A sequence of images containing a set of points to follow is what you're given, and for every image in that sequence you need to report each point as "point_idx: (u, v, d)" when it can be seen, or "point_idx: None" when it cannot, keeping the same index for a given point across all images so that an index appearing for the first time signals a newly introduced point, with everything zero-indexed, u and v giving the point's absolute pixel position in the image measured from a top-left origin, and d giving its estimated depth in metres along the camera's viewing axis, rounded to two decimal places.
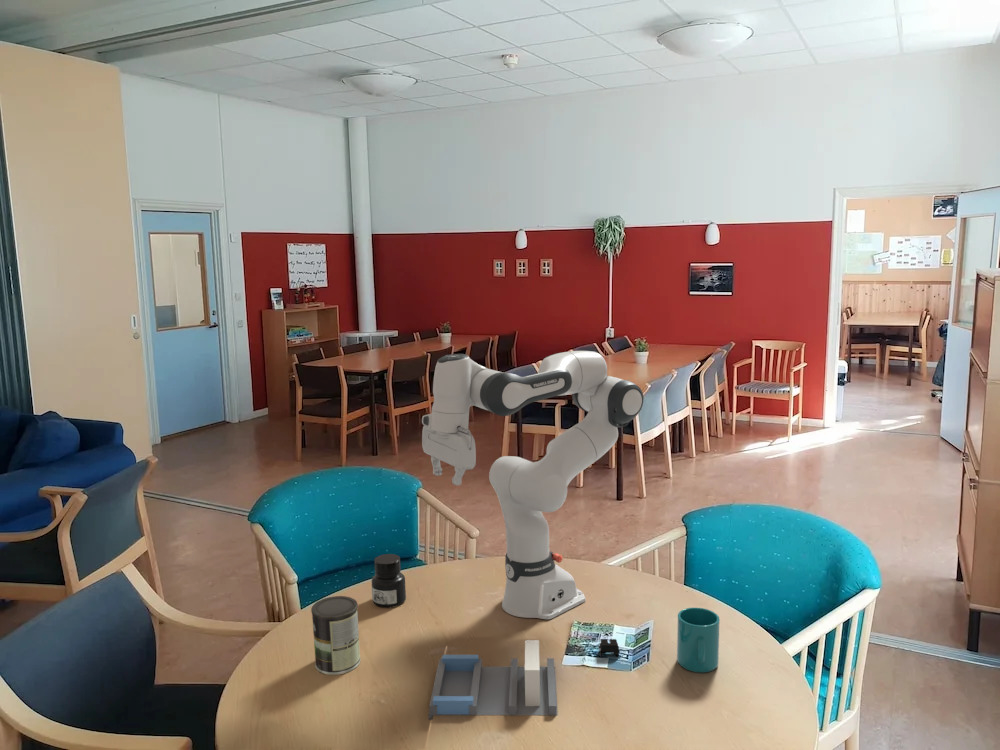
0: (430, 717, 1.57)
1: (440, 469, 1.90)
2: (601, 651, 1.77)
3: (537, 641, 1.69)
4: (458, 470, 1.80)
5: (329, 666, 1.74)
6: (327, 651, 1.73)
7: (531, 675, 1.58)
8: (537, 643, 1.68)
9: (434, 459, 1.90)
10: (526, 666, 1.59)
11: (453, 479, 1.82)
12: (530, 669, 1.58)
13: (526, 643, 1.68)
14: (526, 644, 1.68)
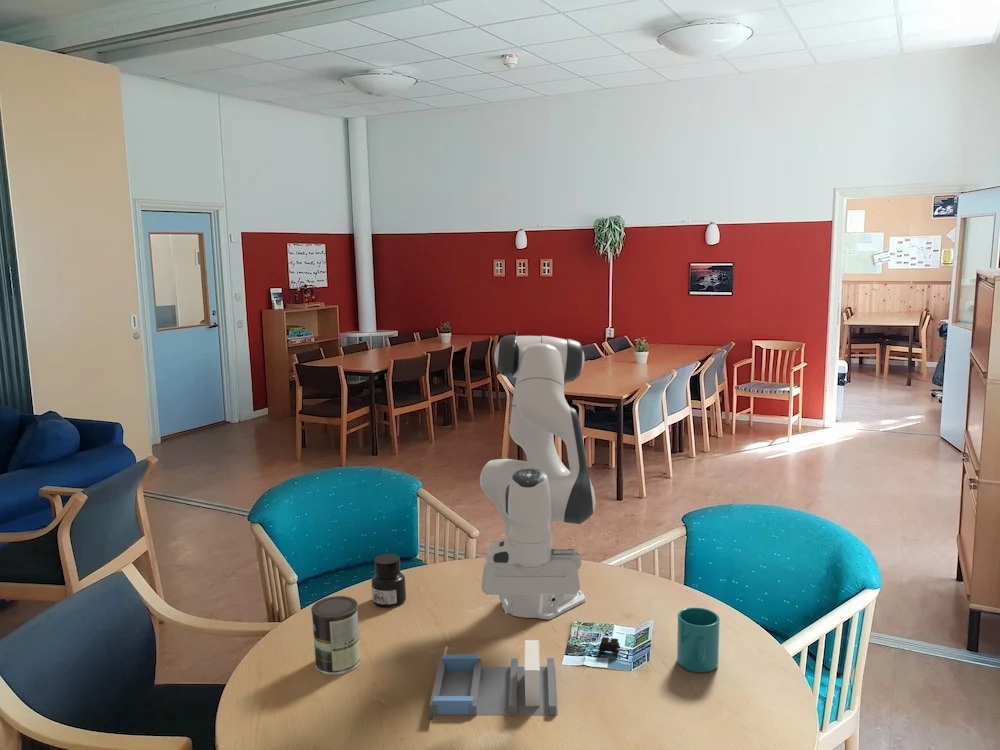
0: (430, 717, 1.57)
1: (511, 604, 1.62)
2: (600, 649, 1.78)
3: (537, 641, 1.69)
4: (562, 596, 1.60)
5: (329, 666, 1.74)
6: (327, 651, 1.73)
7: (531, 675, 1.58)
8: (537, 643, 1.68)
9: (505, 596, 1.61)
10: (526, 666, 1.59)
11: (553, 608, 1.61)
12: (530, 669, 1.58)
13: (526, 643, 1.68)
14: (526, 644, 1.68)
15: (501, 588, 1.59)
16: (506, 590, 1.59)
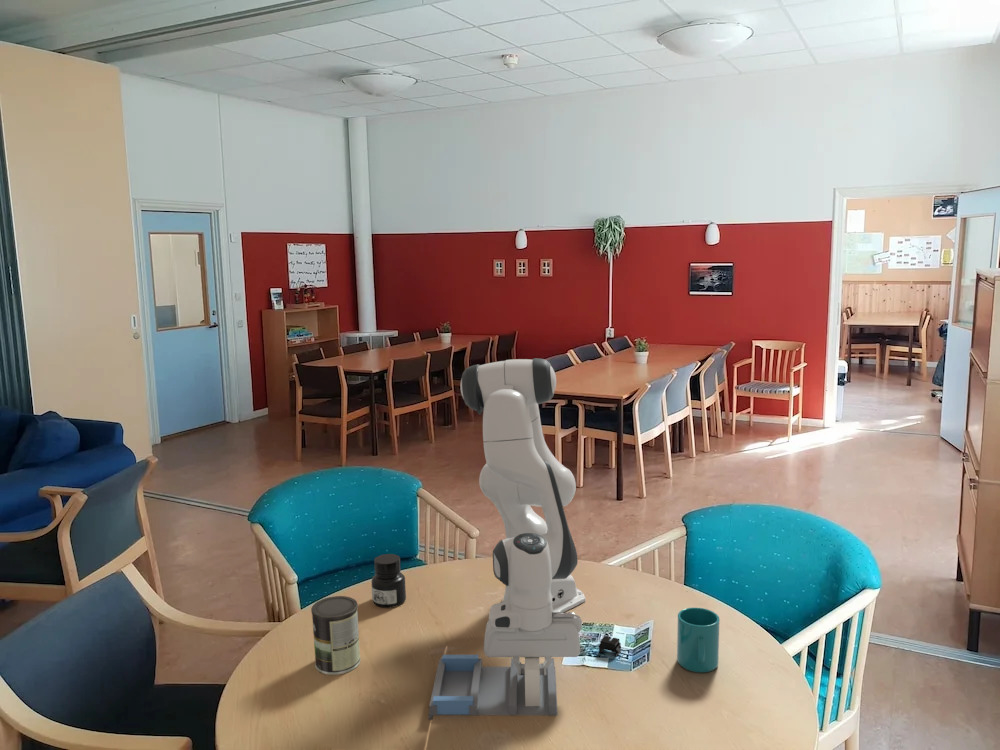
0: (430, 717, 1.57)
1: None
2: (600, 646, 1.79)
3: None
4: None
5: (329, 666, 1.74)
6: (327, 651, 1.73)
7: (531, 675, 1.58)
8: None
9: None
10: (526, 666, 1.59)
11: (542, 670, 1.63)
12: (530, 669, 1.58)
13: None
14: None
15: (503, 651, 1.62)
16: (508, 653, 1.62)
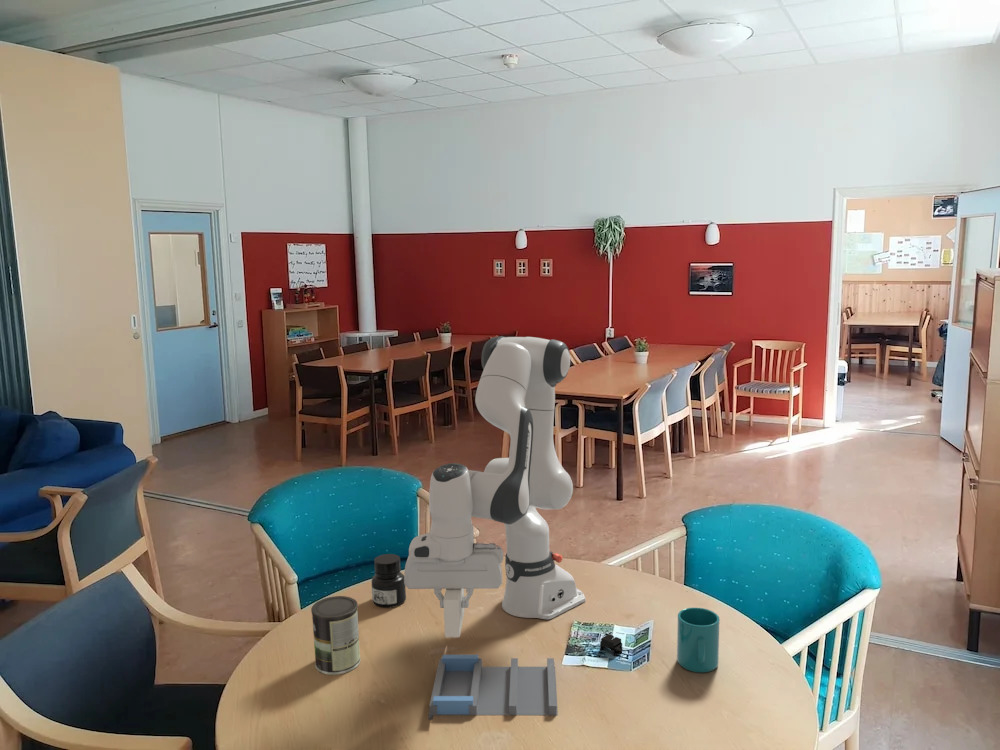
0: (430, 717, 1.57)
1: None
2: (601, 644, 1.80)
3: None
4: None
5: (329, 666, 1.74)
6: (327, 651, 1.73)
7: (450, 605, 1.56)
8: None
9: (440, 591, 1.61)
10: (446, 596, 1.57)
11: (464, 602, 1.61)
12: (449, 599, 1.56)
13: None
14: None
15: (423, 582, 1.60)
16: (428, 584, 1.60)
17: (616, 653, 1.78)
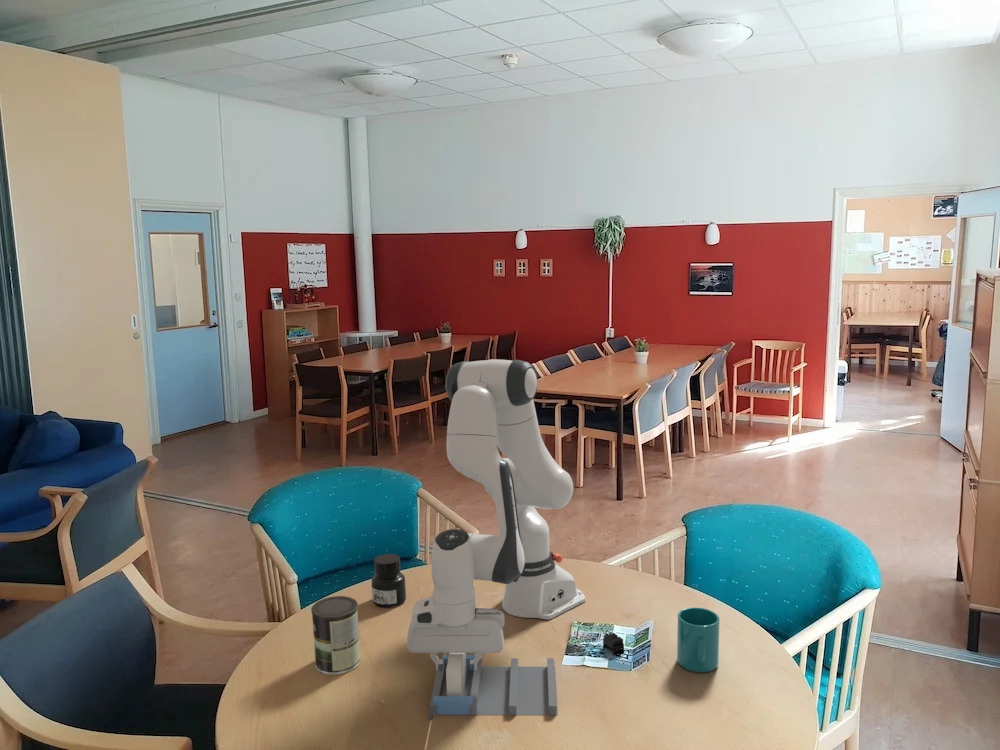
0: (430, 717, 1.57)
1: (443, 662, 1.65)
2: (603, 641, 1.81)
3: None
4: (481, 654, 1.63)
5: (329, 666, 1.74)
6: (327, 651, 1.73)
7: (452, 675, 1.59)
8: None
9: None
10: (448, 666, 1.60)
11: (472, 666, 1.64)
12: (451, 669, 1.59)
13: None
14: None
15: (426, 647, 1.62)
16: (431, 649, 1.62)
17: (615, 652, 1.78)
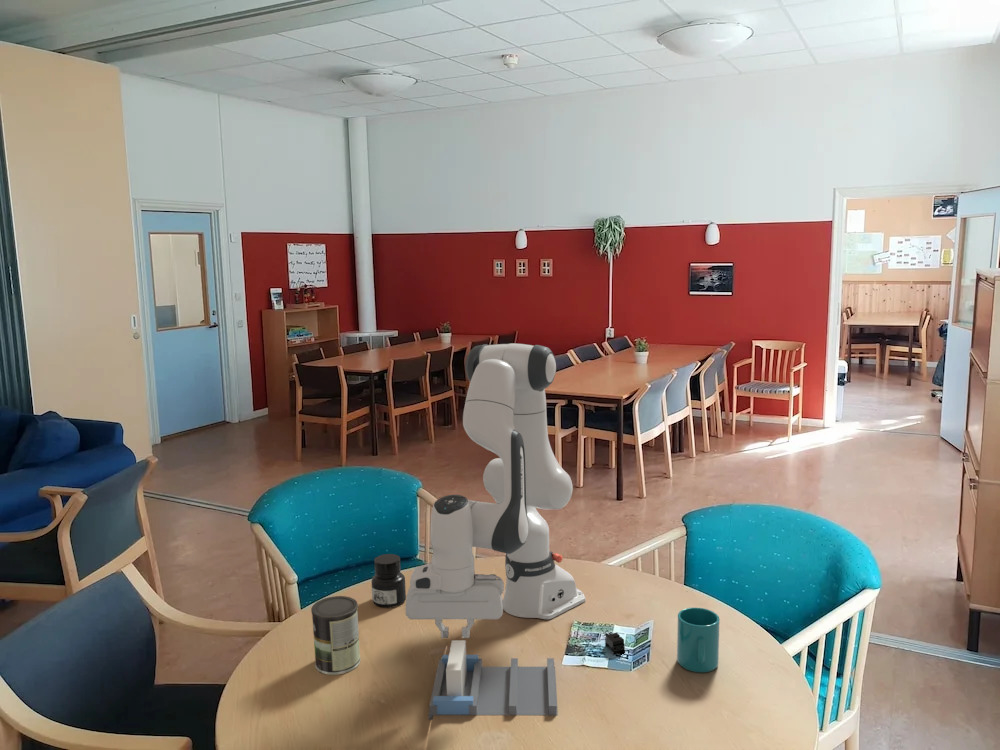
0: (430, 717, 1.57)
1: (448, 629, 1.64)
2: (605, 640, 1.82)
3: (463, 641, 1.70)
4: (473, 621, 1.62)
5: (329, 666, 1.74)
6: (327, 651, 1.73)
7: (452, 675, 1.59)
8: (463, 643, 1.69)
9: (441, 621, 1.62)
10: (448, 666, 1.60)
11: (465, 633, 1.62)
12: (451, 669, 1.59)
13: (452, 643, 1.69)
14: (451, 645, 1.68)
15: (424, 613, 1.61)
16: (429, 615, 1.61)
17: (615, 652, 1.78)
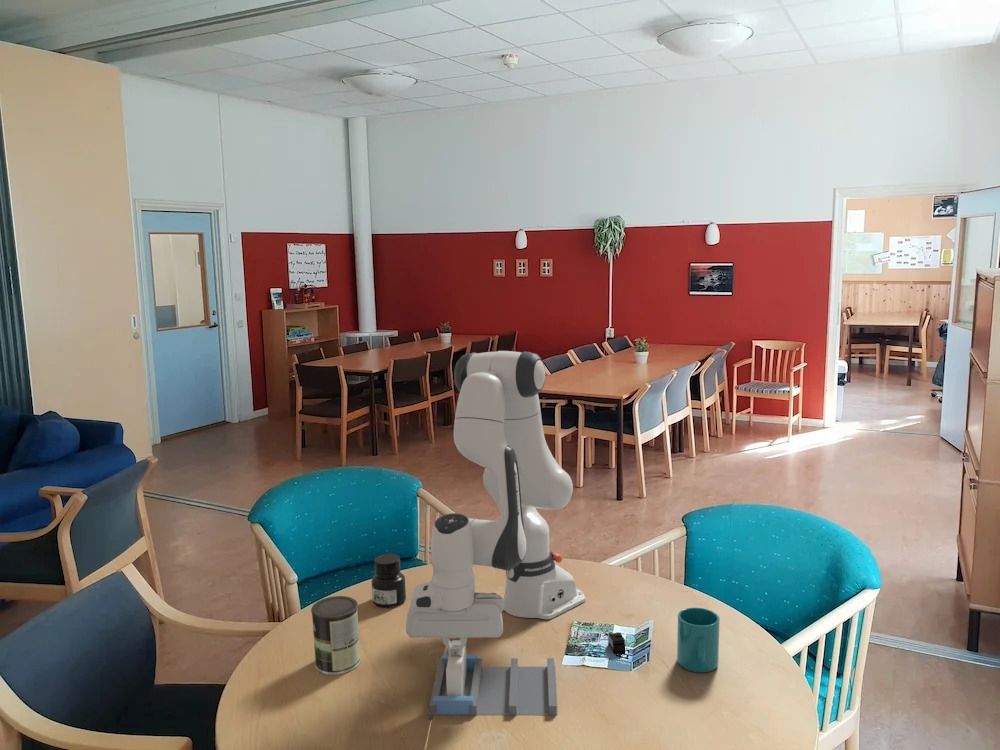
0: (430, 717, 1.57)
1: None
2: (608, 639, 1.82)
3: None
4: (466, 639, 1.63)
5: (329, 666, 1.74)
6: (327, 651, 1.73)
7: (452, 675, 1.59)
8: None
9: (449, 639, 1.63)
10: (448, 666, 1.60)
11: (458, 651, 1.63)
12: (451, 669, 1.59)
13: (452, 643, 1.69)
14: None
15: (425, 631, 1.62)
16: (430, 633, 1.62)
17: (615, 652, 1.78)
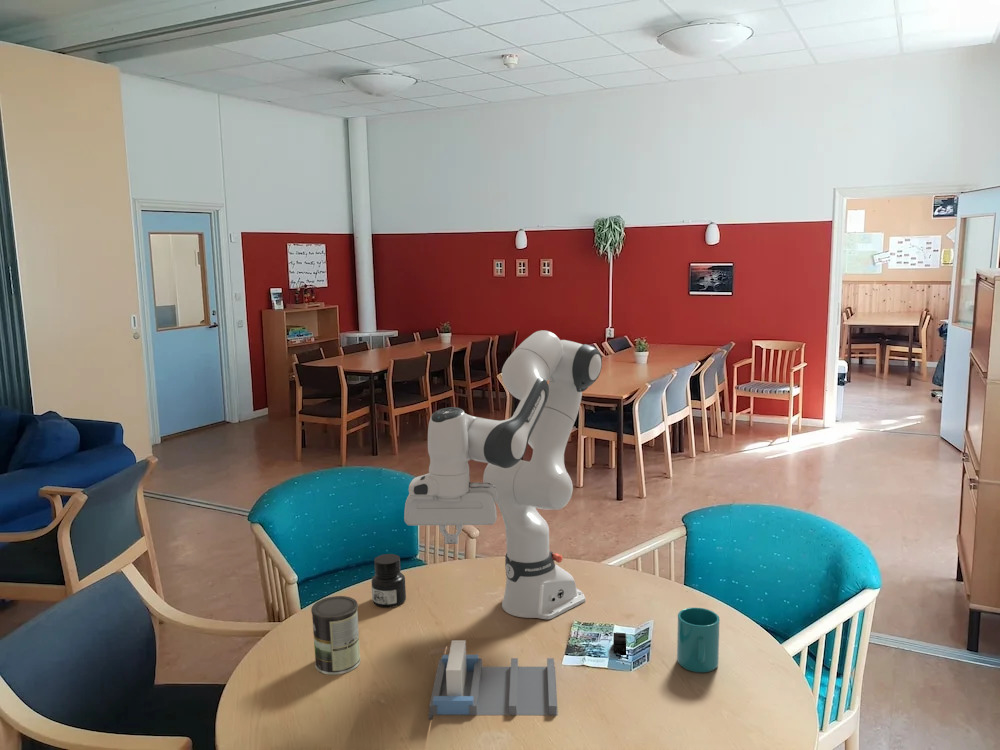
0: (430, 717, 1.57)
1: (451, 535, 1.73)
2: None
3: (463, 641, 1.70)
4: (462, 527, 1.71)
5: (329, 666, 1.74)
6: (327, 651, 1.73)
7: (452, 675, 1.59)
8: (463, 643, 1.69)
9: (445, 527, 1.71)
10: (448, 666, 1.60)
11: (454, 538, 1.71)
12: (451, 669, 1.59)
13: (452, 643, 1.69)
14: (451, 645, 1.68)
15: (422, 519, 1.70)
16: (427, 521, 1.70)
17: (616, 651, 1.79)
